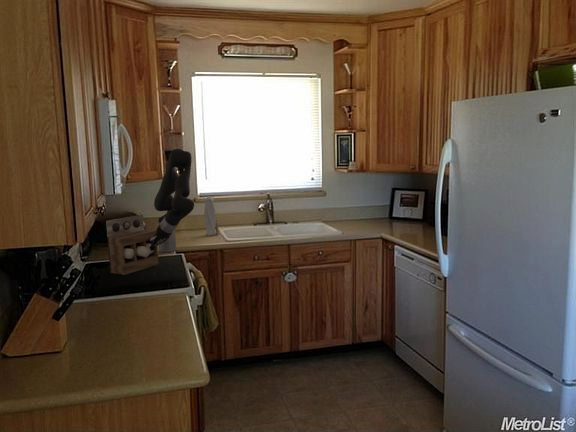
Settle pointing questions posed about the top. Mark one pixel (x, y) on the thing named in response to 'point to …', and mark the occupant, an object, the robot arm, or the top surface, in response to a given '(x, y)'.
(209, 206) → the skyscraper
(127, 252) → the button left
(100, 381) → the top surface
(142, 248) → the button middle
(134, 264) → the brown toy oven
